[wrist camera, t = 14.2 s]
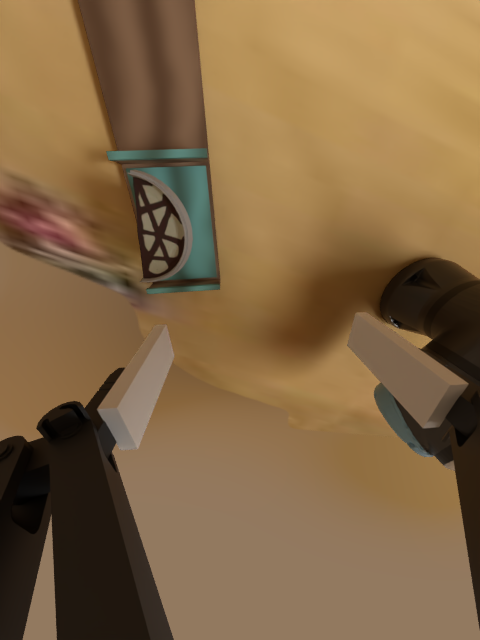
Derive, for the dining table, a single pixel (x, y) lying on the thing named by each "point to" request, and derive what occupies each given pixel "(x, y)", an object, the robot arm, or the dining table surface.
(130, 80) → the rack
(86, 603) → the robot arm
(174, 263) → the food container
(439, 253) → the dining table surface
